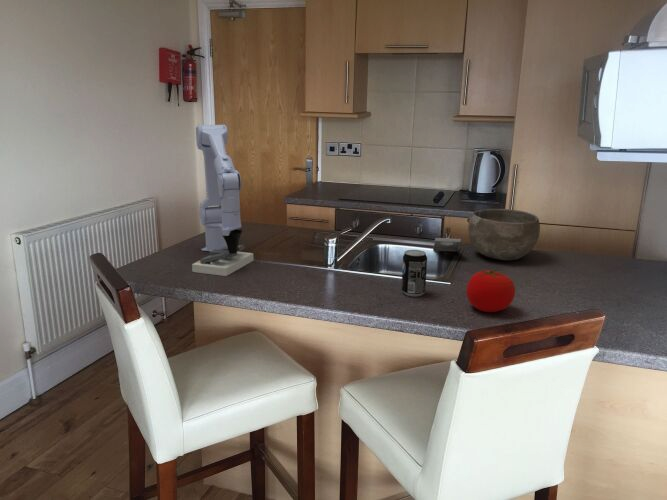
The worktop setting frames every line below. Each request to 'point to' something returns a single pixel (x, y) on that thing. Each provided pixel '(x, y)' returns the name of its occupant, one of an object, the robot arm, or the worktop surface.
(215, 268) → the switch panel
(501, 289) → the tomato
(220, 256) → the rocker
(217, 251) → the rocker
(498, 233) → the bowl
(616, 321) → the worktop surface
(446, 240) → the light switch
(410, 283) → the beverage can
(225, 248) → the rocker
